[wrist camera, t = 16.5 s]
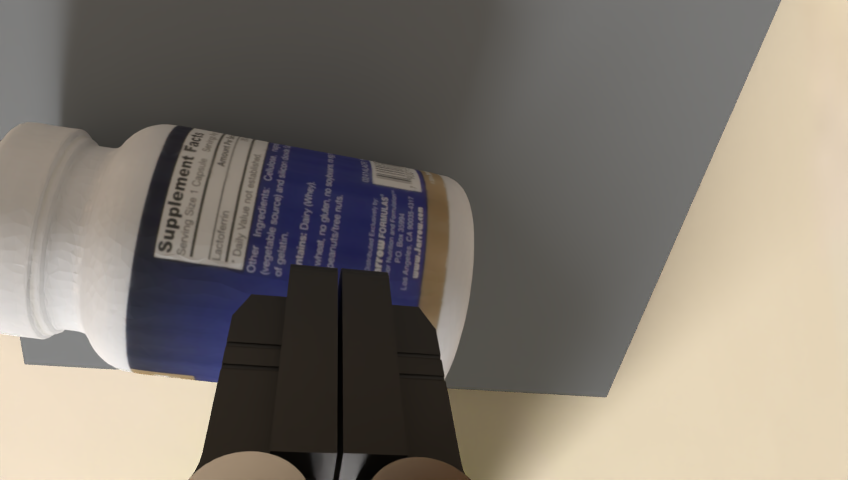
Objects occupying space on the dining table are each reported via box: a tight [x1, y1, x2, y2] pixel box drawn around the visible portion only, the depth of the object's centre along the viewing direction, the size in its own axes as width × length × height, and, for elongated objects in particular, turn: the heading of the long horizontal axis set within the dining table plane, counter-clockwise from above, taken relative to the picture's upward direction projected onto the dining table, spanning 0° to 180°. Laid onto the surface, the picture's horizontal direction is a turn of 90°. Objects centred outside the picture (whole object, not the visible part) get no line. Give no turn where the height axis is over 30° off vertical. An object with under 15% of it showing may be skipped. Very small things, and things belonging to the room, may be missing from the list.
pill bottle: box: [0, 122, 474, 382], centre depth 16 cm, size 6×6×10 cm
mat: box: [0, 0, 781, 397], centre depth 18 cm, size 19×18×1 cm
